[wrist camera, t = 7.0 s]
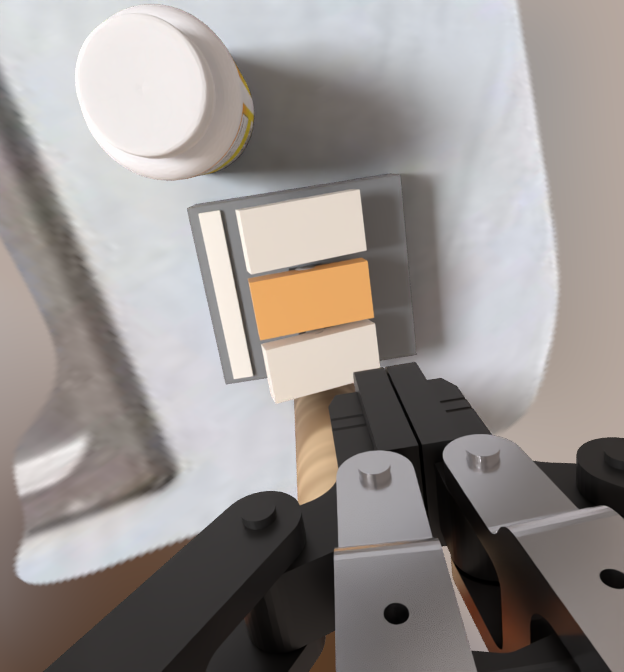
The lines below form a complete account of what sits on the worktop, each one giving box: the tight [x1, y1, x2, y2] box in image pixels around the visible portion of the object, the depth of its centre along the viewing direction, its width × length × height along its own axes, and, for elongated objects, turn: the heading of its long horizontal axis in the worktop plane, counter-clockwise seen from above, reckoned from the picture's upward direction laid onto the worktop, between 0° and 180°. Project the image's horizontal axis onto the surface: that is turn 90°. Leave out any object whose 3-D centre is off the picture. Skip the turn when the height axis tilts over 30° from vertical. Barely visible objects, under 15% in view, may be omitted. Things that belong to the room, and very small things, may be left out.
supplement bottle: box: [75, 4, 254, 181], centre depth 20 cm, size 6×6×10 cm
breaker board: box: [187, 174, 416, 384], centre depth 26 cm, size 9×10×4 cm
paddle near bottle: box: [235, 189, 367, 275], centre depth 22 cm, size 3×5×2 cm, turn 98°
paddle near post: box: [261, 319, 380, 404], centre depth 24 cm, size 3×5×1 cm, turn 99°
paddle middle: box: [248, 258, 374, 340], centre depth 23 cm, size 3×5×2 cm, turn 99°
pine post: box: [294, 383, 355, 505], centre depth 24 cm, size 4×4×14 cm
